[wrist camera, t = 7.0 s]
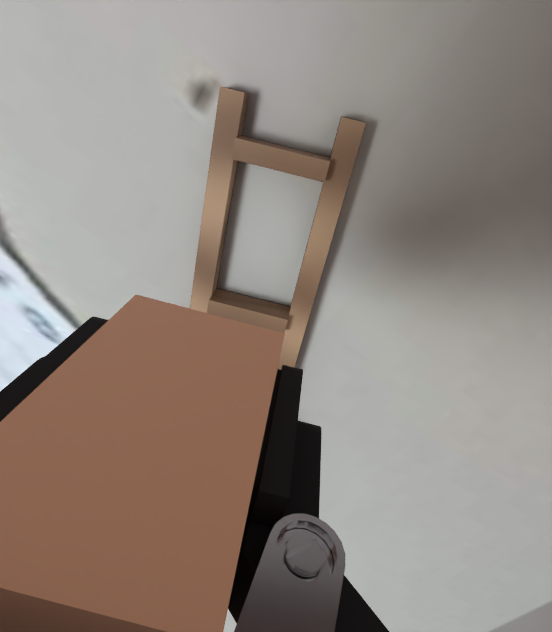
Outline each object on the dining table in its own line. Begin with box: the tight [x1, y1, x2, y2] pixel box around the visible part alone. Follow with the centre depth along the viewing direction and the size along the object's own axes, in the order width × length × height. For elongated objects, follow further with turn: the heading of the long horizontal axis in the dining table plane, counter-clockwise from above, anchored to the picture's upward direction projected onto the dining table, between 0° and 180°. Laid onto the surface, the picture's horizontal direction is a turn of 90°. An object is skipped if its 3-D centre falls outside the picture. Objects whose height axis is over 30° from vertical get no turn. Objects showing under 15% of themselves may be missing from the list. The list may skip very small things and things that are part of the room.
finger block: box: [0, 295, 285, 632], centre depth 9 cm, size 5×4×7 cm
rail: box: [190, 87, 366, 370], centre depth 24 cm, size 30×7×7 cm, turn 168°
